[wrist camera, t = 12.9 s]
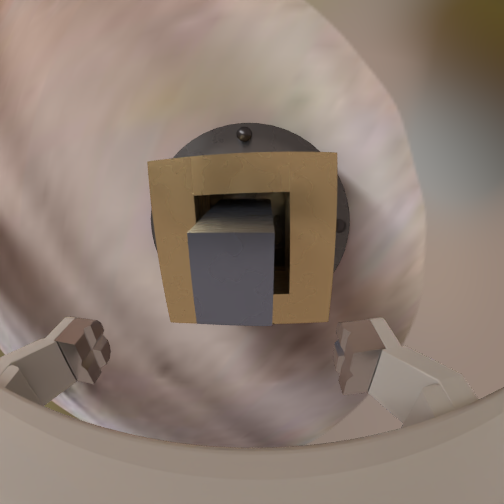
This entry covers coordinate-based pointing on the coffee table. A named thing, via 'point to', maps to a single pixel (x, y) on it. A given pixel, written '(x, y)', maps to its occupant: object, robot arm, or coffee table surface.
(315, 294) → the rosette plate
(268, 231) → the grey rectangular block
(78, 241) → the coffee table surface
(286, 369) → the coffee table surface
